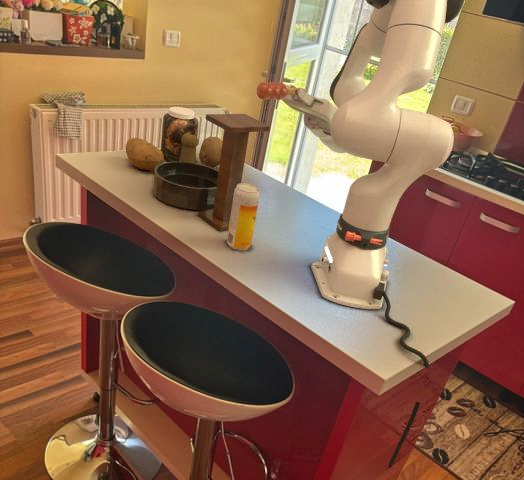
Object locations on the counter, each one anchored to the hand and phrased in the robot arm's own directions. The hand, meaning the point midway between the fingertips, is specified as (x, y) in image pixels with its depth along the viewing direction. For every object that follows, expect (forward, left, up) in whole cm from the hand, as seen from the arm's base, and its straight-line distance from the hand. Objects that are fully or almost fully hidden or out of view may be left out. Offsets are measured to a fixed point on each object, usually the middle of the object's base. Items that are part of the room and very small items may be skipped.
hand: (294, 89), depth 140 cm
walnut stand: (-15, +12, -33) cm, 38 cm away
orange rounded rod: (-3, +3, -2) cm, 5 cm away
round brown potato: (+25, +21, -33) cm, 46 cm away
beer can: (-28, +6, -33) cm, 44 cm away
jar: (+28, +33, -33) cm, 55 cm away
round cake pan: (-3, +24, -33) cm, 40 cm away
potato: (+12, +40, -33) cm, 53 cm away
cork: (+18, +28, -33) cm, 47 cm away
